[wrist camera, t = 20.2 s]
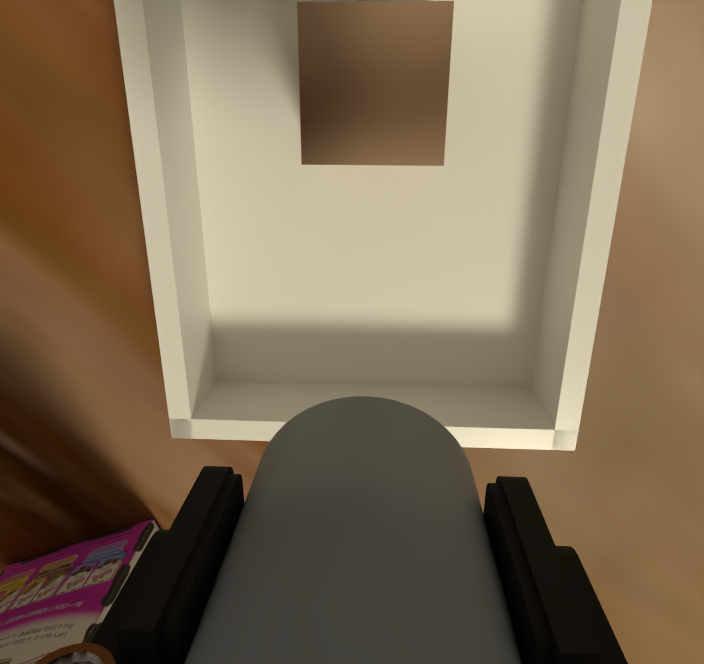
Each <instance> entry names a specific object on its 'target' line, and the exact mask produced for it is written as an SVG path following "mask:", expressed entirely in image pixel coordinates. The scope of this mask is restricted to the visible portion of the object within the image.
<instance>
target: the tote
mask: <svg viewBox="0 0 704 664" xmlns="http://www.w3.org/2000/svg"><path fill="white" fill-rule="evenodd" d="M350 1H454V10H453V26H452V42H451V58H450V75H449V91H448V107H447V123H446V139H445V155H444V166H396V165H301V129H300V92H299V55H298V17H297V2H350ZM114 6H115V13H116V21H117V29H118V36H119V44H120V51H121V59H122V66H123V74H124V81H125V89H126V96H127V104H128V112H129V119H130V127H131V134H132V142H133V149H134V157H135V164H136V172H137V179H138V187H139V195H140V202H141V210H142V217H143V225H144V232H145V240H146V247H147V255H148V263H149V270H150V278H151V285H152V293H153V300H154V308H155V315H156V323H157V330H158V338H159V346H160V353H161V361H162V368H163V376H164V383H165V391H166V398H167V406H168V414H169V421H170V429H171V436H172V438H192V439H224V440H256V441H271V439H272V438H273V437H274V435H275V434H276V433H277V432H278V431H279V430H280V429H281V428H282V426H283V425H284V424H285V423H287V422H288V421H289V420H291V419H292V418H293V417H295V416H296V415H297V414H299V413H301V412H303V411H304V410H306V409H308V408H310V407H313V406H315V405H317V404H320V403H323V402H326V401H330V400H333V399H338V398H345V397H354V396H370V397H381V398H386V399H391V400H396V401H399V402H402V403H405V404H408V405H411V406H413V407H415V408H417V409H419V410H421V411H423V412H425V413H426V414H428V415H430V416H431V417H433V418H434V419H436V420H437V421H438V422H439V423H441V424H442V425H443V426H444V427H445V428H446V429H447V430H448V431H449V432H450V433H451V434H452V435H453V436H454V437H455V438H456V440H457V441H458V443H459V444H460V446H461V447H480V448H512V449H543V450H575V447H576V441H577V436H578V430H579V424H580V418H581V412H582V407H583V401H584V395H585V389H586V383H587V377H588V372H589V366H590V360H591V354H592V348H593V343H594V337H595V331H596V325H597V319H598V314H599V308H600V302H601V296H602V290H603V285H604V279H605V273H606V267H607V261H608V255H609V250H610V244H611V238H612V232H613V226H614V221H615V215H616V209H617V203H618V197H619V192H620V186H621V180H622V174H623V168H624V163H625V157H626V151H627V145H628V139H629V133H630V128H631V122H632V116H633V110H634V104H635V99H636V93H637V87H638V81H639V75H640V70H641V64H642V58H643V52H644V46H645V41H646V35H647V29H648V23H649V17H650V12H651V6H652V0H114Z"/></svg>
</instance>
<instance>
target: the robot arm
mask: <svg viewBox="0 0 704 664" xmlns="http://www.w3.org/2000/svg"><path fill="white" fill-rule="evenodd" d="M243 506H244V494H243V481H242V476H241V475H240V474H234V472H233V469H232V467H219V466H205V467H203V469H202V470H201V472H200V474H199V476H198V478H197V480H196V481H195V483H194V485H193V487H192V489H191V491H190V492H189V494H188V496H187V498H186V500H185V502H184V504H183V505H182V507H181V509H180V511H179V513H178V515H177V516H176V518H175V520H174V522H173V524H172V526H171V528H170V529H169V530H158V531H156V532H155V533H154V534H153V535H152V537H151V538H150V540H149V542H148V543H147V545H146V547H145V549H144V550H143V552H142V554H141V556H140V557H139V559H138V561H137V562H136V564H135V566H134V568H133V569H132V571H131V573H130V575H129V576H128V578H127V580H126V582H125V583H124V585H123V587H122V588H121V590H120V592H119V594H118V595H117V597H116V599H115V601H114V602H113V604H112V606H111V608H110V609H109V611H108V613H107V614H106V616H105V618H104V620H103V621H102V623H101V625H100V627H99V628H98V630H97V632H96V634H95V635H94V637H93V639H92V641H91V642H90V643H77V644H72V645H69V646H66V647H62V648H59V649H57V650H55V651H54V652H52V653H50V654H48V655H46V656H44V657H43V658H41V659H40V660H39V661H37V662H36V663H35V664H184V663H185V660H186V658H187V655H188V652H189V650H190V647H191V644H192V642H193V639H194V636H195V634H196V631H197V628H198V626H199V623H200V620H201V618H202V615H203V612H204V610H205V607H206V604H207V602H208V599H209V596H210V594H211V591H212V588H213V586H214V583H215V580H216V578H217V575H218V572H219V570H220V567H221V564H222V562H223V559H224V557H225V554H226V551H227V549H228V546H229V543H230V541H231V538H232V535H233V533H234V530H235V527H236V525H237V522H238V519H239V517H240V514H241V511H242V509H243ZM483 515H484V519H485V523H486V526H487V530H488V534H489V538H490V542H491V545H492V549H493V553H494V557H495V561H496V564H497V568H498V572H499V576H500V580H501V583H502V587H503V591H504V595H505V599H506V602H507V606H508V610H509V614H510V618H511V621H512V625H513V629H514V633H515V637H516V640H517V644H518V648H519V652H520V656H521V659H522V663H523V664H628V663H627V661H626V659H625V656H624V654H623V652H622V650H621V648H620V646H619V643H618V641H617V639H616V637H615V635H614V633H613V630H612V628H611V626H610V624H609V622H608V620H607V617H606V615H605V613H604V611H603V609H602V607H601V604H600V602H599V600H598V598H597V596H596V594H595V591H594V589H593V587H592V585H591V583H590V581H589V578H588V576H587V574H586V572H585V570H584V568H583V565H582V563H581V561H580V559H579V557H578V555H577V553H576V551H575V550H574V549H573V548H572V547H571V546H555V544H554V542H553V539H552V537H551V534H550V532H549V530H548V527H547V525H546V522H545V520H544V518H543V515H542V513H541V510H540V508H539V506H538V503H537V501H536V498H535V496H534V494H533V491H532V489H531V486H530V484H529V482H528V480H527V478H525V477H506V476H498V477H497V479H496V483H488V484H487V487H486V495H485V505H484V514H483Z"/></svg>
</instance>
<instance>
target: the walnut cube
mask: <svg viewBox="0 0 704 664" xmlns="http://www.w3.org/2000/svg"><path fill="white" fill-rule="evenodd" d="M453 10H454V1H350V2H297V17H298V55H299V92H300V129H301V165H396V166H444V155H445V139H446V123H447V107H448V91H449V75H450V58H451V42H452V26H453Z"/></svg>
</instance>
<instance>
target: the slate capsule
mask: <svg viewBox="0 0 704 664" xmlns="http://www.w3.org/2000/svg"><path fill="white" fill-rule="evenodd" d="M184 664H523V663H522V659H521V656H520V652H519V648H518V644H517V640H516V637H515V633H514V629H513V625H512V621H511V618H510V614H509V610H508V606H507V602H506V599H505V595H504V591H503V587H502V583H501V580H500V576H499V572H498V568H497V564H496V561H495V557H494V553H493V549H492V545H491V542H490V538H489V534H488V530H487V526H486V523H485V519H484V515H483V511H482V507H481V504H480V500H479V496H478V492H477V488H476V485H475V481H474V477H473V473H472V470H471V467H470V463H469V461H468V458H467V456H466V454H465V452H464V450H463V449H462V447H461V446H460V444H459V443H458V441H457V440H456V438H455V437H454V436H453V435H452V434H451V433H450V432H449V431H448V430H447V429H446V428H445V427H444V426H443V425H442V424H441V423H439V422H438V421H437V420H436V419H434V418H433V417H431V416H430V415H428V414H426V413H425V412H423V411H421V410H419V409H417V408H415V407H413V406H411V405H408V404H405V403H402V402H399V401H396V400H391V399H386V398H381V397H370V396H354V397H345V398H338V399H333V400H330V401H326V402H323V403H320V404H317V405H315V406H313V407H310V408H308V409H306V410H304V411H303V412H301V413H299V414H297V415H296V416H295V417H293V418H292V419H291V420H289V421H288V422H287V423H285V424H284V425H283V426H282V428H281V429H280V430H279V431H278V432H277V433H276V434H275V435H274V437H273V438H272V439H271V441H270V442H269V444H268V446H267V447H266V449H265V451H264V453H263V455H262V458H261V461H260V463H259V466H258V469H257V471H256V474H255V477H254V479H253V482H252V485H251V487H250V490H249V493H248V495H247V498H246V501H245V503H244V506H243V509H242V511H241V514H240V517H239V519H238V522H237V525H236V527H235V530H234V533H233V535H232V538H231V541H230V543H229V546H228V549H227V551H226V554H225V557H224V559H223V562H222V564H221V567H220V570H219V572H218V575H217V578H216V580H215V583H214V586H213V588H212V591H211V594H210V596H209V599H208V602H207V604H206V607H205V610H204V612H203V615H202V618H201V620H200V623H199V626H198V628H197V631H196V634H195V636H194V639H193V642H192V644H191V647H190V650H189V652H188V655H187V658H186V660H185V663H184Z"/></svg>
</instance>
